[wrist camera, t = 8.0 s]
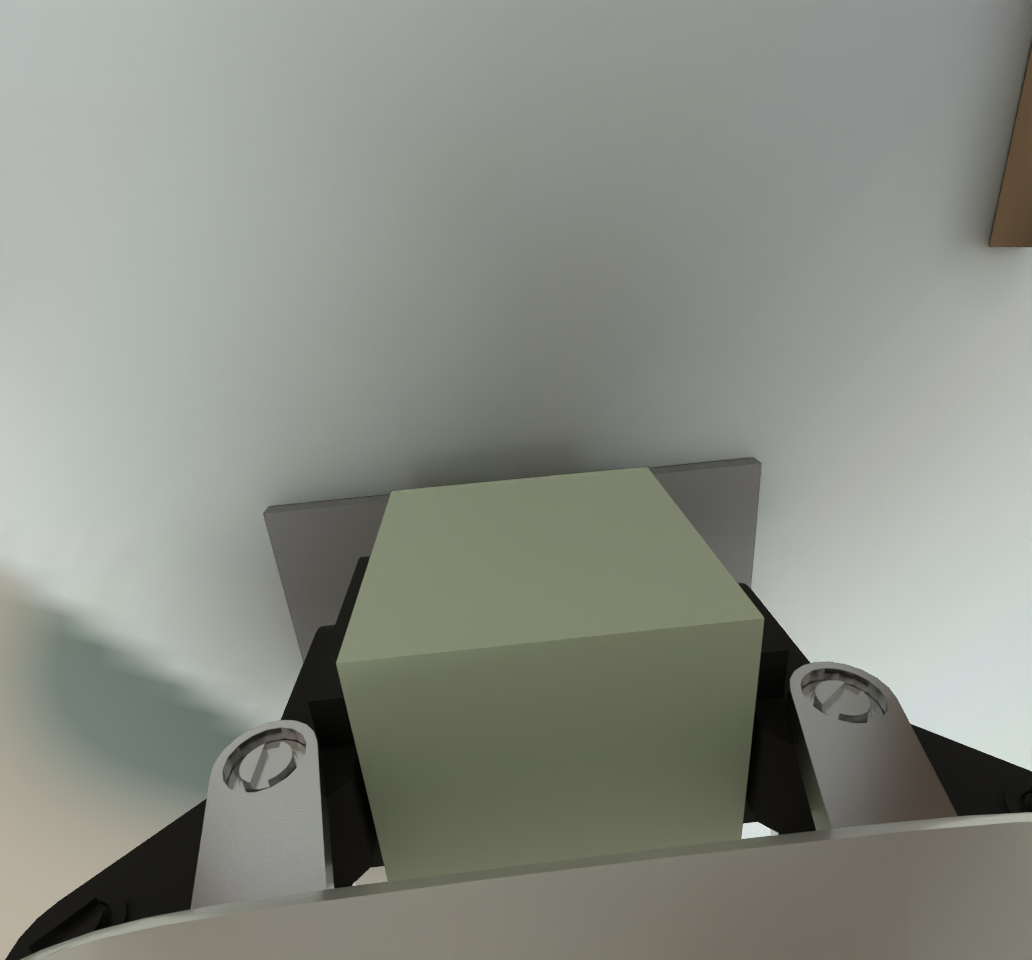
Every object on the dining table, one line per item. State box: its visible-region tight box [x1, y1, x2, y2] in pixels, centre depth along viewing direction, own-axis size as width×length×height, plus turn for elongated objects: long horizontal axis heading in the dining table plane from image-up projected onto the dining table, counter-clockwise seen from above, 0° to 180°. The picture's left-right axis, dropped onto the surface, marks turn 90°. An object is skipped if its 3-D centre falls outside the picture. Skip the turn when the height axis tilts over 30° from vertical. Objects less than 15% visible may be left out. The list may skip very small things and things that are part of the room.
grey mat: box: [263, 458, 761, 662], centre depth 16 cm, size 12×9×1 cm
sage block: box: [336, 467, 764, 882], centre depth 10 cm, size 5×5×5 cm
